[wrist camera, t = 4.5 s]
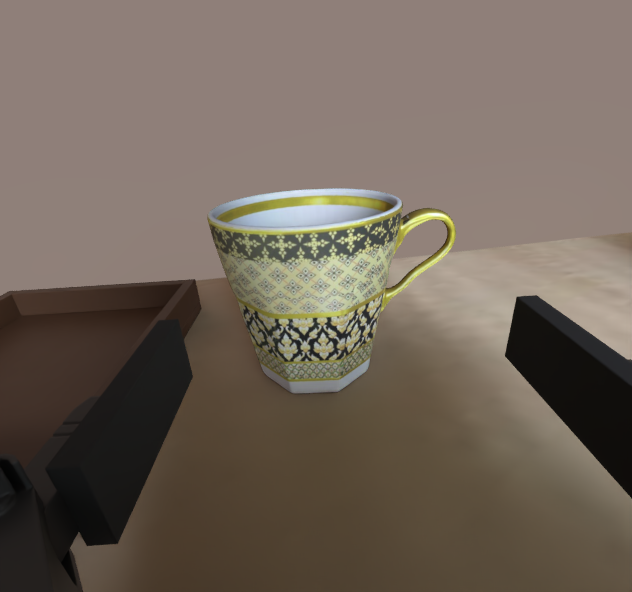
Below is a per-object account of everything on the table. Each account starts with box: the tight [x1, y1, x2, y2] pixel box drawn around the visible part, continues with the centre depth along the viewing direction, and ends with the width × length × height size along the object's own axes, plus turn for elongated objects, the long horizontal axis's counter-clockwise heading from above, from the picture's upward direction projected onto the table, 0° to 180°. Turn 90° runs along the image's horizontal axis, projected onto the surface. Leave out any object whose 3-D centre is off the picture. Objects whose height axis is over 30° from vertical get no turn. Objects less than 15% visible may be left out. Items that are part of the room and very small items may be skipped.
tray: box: [0, 279, 201, 469], centre depth 21 cm, size 16×20×3 cm
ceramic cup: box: [208, 189, 456, 393], centre depth 21 cm, size 13×10×10 cm
